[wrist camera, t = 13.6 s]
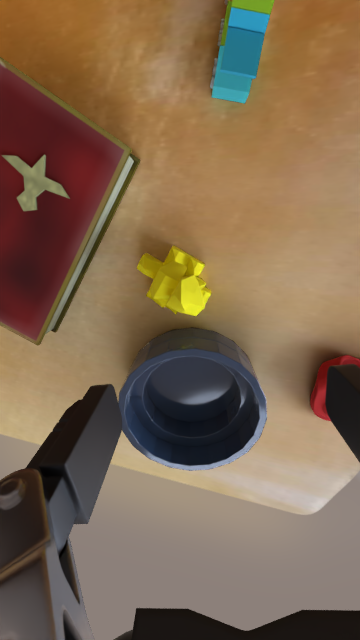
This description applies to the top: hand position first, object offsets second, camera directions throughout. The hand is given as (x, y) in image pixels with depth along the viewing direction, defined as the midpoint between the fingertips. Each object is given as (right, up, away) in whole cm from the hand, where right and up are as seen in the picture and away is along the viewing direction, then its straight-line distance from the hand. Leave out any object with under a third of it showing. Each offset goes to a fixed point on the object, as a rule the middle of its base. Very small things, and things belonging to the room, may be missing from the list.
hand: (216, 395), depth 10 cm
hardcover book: (-16, +13, +17) cm, 27 cm away
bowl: (0, -5, +23) cm, 23 cm away
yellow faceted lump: (-2, +8, +18) cm, 20 cm away
